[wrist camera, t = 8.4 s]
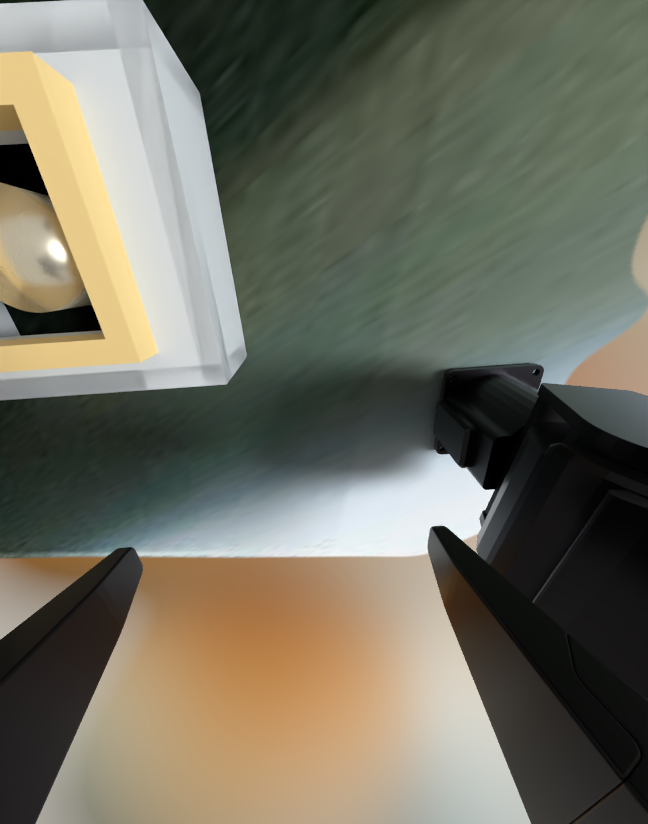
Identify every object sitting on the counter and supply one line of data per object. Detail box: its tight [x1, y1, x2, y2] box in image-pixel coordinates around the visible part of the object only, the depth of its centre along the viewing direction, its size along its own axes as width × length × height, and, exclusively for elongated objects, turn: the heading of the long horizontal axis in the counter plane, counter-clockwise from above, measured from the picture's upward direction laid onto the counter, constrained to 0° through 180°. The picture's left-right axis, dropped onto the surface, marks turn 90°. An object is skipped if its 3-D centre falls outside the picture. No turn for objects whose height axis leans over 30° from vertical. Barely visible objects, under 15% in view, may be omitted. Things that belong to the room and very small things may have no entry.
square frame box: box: [0, 0, 247, 400], centre depth 12 cm, size 14×12×6 cm
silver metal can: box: [0, 183, 92, 313], centre depth 13 cm, size 4×4×5 cm
